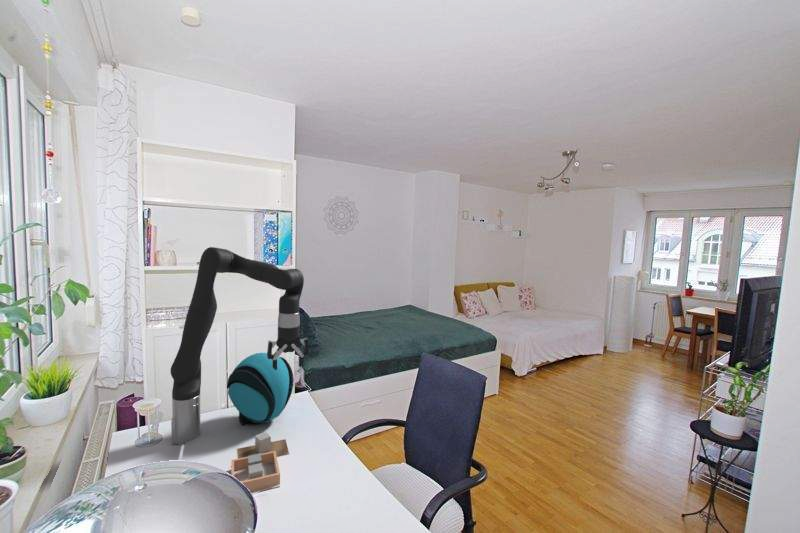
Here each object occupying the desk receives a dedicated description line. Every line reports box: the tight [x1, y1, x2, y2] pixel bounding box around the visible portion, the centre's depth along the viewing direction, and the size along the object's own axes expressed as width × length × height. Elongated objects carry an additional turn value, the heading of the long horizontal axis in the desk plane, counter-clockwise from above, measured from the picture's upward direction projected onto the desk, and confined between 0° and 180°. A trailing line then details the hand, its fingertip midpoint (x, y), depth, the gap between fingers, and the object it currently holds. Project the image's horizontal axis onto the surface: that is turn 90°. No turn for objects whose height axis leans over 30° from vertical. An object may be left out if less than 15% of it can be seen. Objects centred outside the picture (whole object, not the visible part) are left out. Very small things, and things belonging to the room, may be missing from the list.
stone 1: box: [248, 453, 262, 466], centre depth 119 cm, size 4×4×5 cm
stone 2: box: [247, 463, 264, 480], centre depth 114 cm, size 4×4×5 cm
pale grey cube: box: [254, 431, 272, 453], centre depth 131 cm, size 4×4×5 cm
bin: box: [230, 451, 281, 493], centre depth 116 cm, size 14×13×4 cm
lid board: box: [236, 438, 290, 459], centre depth 130 cm, size 17×10×1 cm, turn 116°
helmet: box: [226, 352, 295, 426], centre depth 149 cm, size 26×24×30 cm
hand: (287, 367), depth 129 cm, fingers open, 8 cm apart
